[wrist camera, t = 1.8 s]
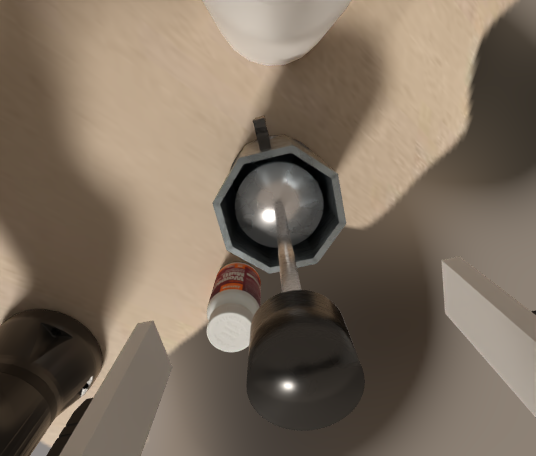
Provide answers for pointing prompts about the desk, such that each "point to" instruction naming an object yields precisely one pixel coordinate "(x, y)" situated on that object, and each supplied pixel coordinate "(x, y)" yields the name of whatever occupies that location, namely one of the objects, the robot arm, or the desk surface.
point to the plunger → (294, 311)
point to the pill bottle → (233, 306)
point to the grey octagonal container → (284, 151)
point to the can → (274, 26)
